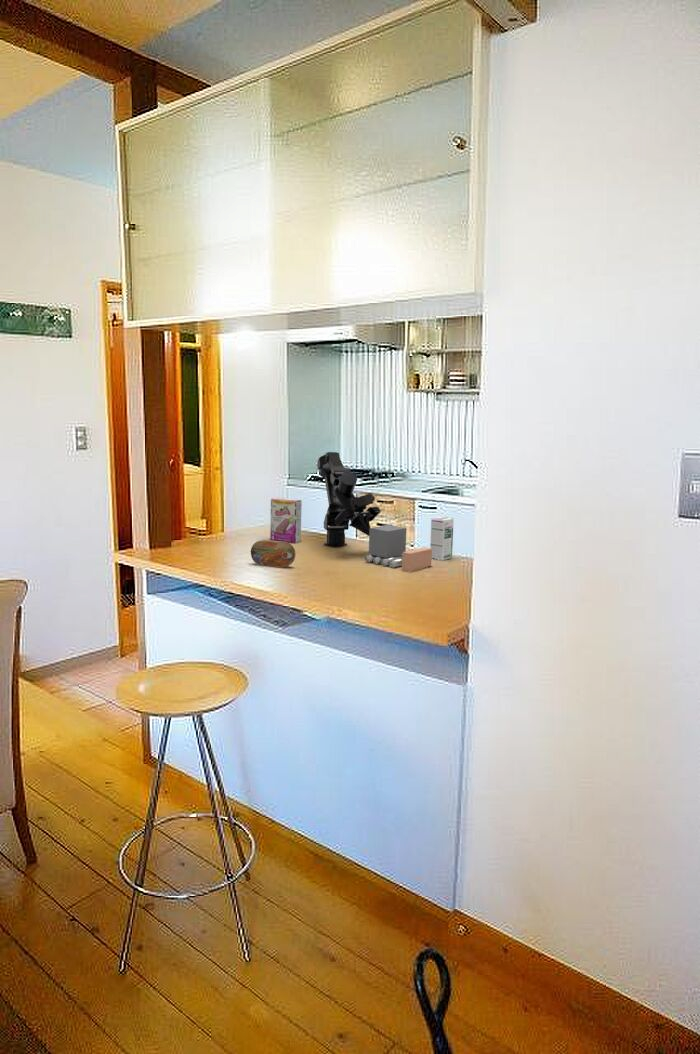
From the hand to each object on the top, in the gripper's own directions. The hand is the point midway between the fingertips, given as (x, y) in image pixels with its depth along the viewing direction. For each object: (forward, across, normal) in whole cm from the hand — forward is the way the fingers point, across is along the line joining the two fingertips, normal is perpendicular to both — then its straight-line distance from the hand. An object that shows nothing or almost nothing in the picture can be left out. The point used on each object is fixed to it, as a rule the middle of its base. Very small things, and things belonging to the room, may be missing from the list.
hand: (370, 535), depth 245 cm
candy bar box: (-23, -2, +35) cm, 42 cm away
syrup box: (+18, +19, -6) cm, 27 cm away
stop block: (+20, 0, -9) cm, 22 cm away
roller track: (+13, 0, -1) cm, 13 cm away
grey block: (+9, 0, -2) cm, 9 cm away
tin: (-3, -33, +15) cm, 37 cm away
